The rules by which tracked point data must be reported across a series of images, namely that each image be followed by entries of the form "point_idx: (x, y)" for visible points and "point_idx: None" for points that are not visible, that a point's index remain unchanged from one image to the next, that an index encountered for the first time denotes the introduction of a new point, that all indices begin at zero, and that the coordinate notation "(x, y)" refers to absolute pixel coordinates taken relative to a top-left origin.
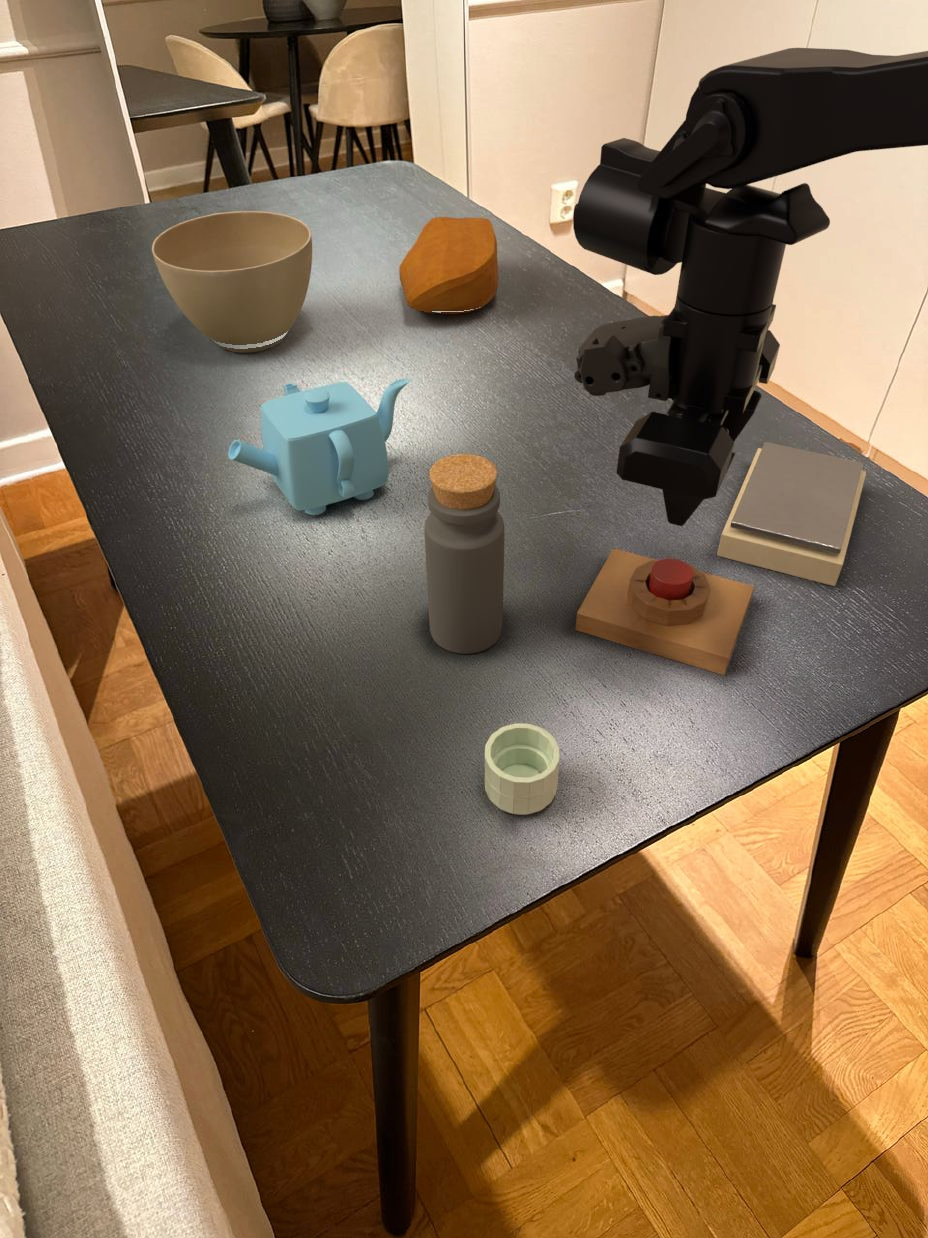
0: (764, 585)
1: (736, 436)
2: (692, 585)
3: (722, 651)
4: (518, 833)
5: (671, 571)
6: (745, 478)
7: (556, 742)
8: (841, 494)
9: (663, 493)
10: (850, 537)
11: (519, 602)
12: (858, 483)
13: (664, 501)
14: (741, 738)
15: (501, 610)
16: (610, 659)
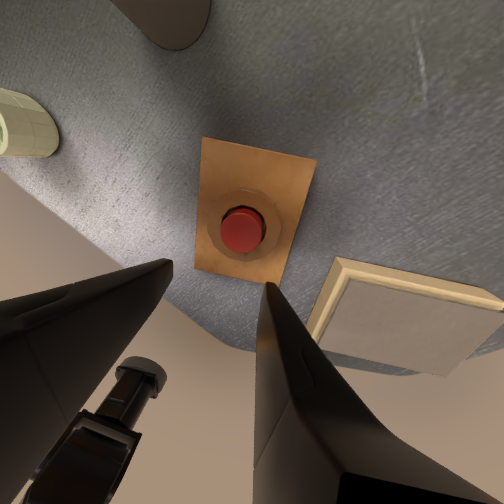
0: (301, 287)
1: (254, 461)
2: None
3: (198, 264)
4: None
5: (239, 233)
6: (444, 289)
7: (4, 150)
8: (394, 358)
9: (85, 280)
10: None
11: (233, 59)
12: None
13: (115, 271)
14: None
15: (152, 26)
16: (187, 178)
